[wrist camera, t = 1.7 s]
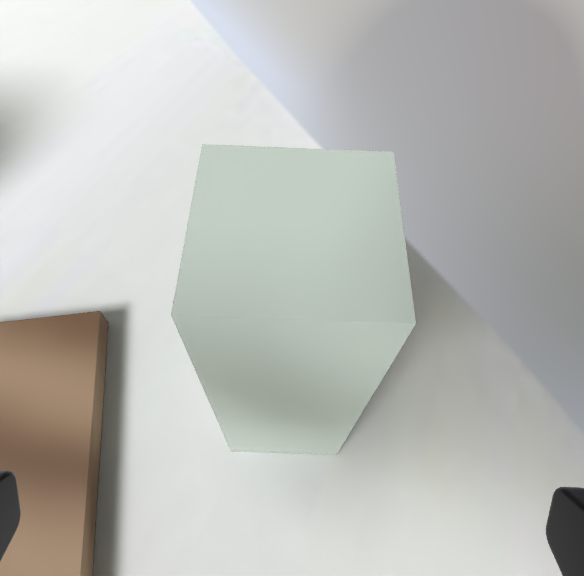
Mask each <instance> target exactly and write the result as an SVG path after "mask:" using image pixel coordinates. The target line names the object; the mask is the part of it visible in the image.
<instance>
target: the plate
mask: <svg viewBox="0 0 584 576" xmlns="http://www.w3.org/2000/svg"><path fill="white" fill-rule="evenodd" d="M107 336H108V321H107V320H106V319H105V317H104V316H103V314H102V313H101V312H100V311H96V312H87V313H78V314H70V315H61V316H52V317H44V318H35V319H26V320H18V321H9V322H0V470H9V471H11V472H13V473H14V474H15V476H16V480H17V487H18V494H19V502H20V509H21V517H20V522H19V525H18V528H17V530H16V532H15V534H14V536H13V538H12V540H11V542H10V544H9V546H8V548H7V550H6V552H5V554H4V556H3V558H2V560H1V562H0V576H92V572H93V557H94V541H95V525H96V509H97V494H98V478H99V462H100V446H101V431H102V415H103V399H104V383H105V368H106V352H107Z"/></svg>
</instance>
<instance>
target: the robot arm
mask: <svg viewBox="0 0 584 576" xmlns="http://www.w3.org/2000/svg"><path fill="white" fill-rule="evenodd" d="M20 517H21V509H20V502H19V494H18V487H17V480H16V476H15V474H14V473H13V472H11V471H9V470H0V562H1V560H2V558H3V556H4V554H5V552H6V550H7V548H8V546H9V544H10V542H11V540H12V538H13V536H14V534H15V532H16V530H17V528H18V525H19V522H20ZM546 535H547V540H548V543H549V546H550V548H551V550H552V553H553V555H554V557H555V559H556V562H557V564H558V566H559V568H560V571H561V573H562V575H563V576H584V488H576V487H560V488H557V489H556V490H555V492H554V494H553V497H552V502H551V507H550V511H549V516H548V520H547V525H546Z"/></svg>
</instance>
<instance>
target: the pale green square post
mask: <svg viewBox="0 0 584 576" xmlns="http://www.w3.org/2000/svg"><path fill="white" fill-rule="evenodd" d="M171 316H172V318H173V320H174V323H175V325H176V327H177V329H178V332H179V334H180V336H181V339H182V341H183V343H184V345H185V348H186V350H187V352H188V355H189V357H190V359H191V361H192V364H193V366H194V368H195V370H196V373H197V375H198V377H199V380H200V382H201V384H202V386H203V389H204V391H205V393H206V396H207V398H208V400H209V402H210V405H211V407H212V409H213V412H214V414H215V416H216V418H217V421H218V423H219V425H220V427H221V430H222V432H223V434H224V437H225V439H226V441H227V443H228V446H229V448H230V450H231V451H246V452H278V453H310V454H338V452H339V450H340V449H341V447H342V445H343V444H344V442H345V440H346V439H347V437H348V435H349V434H350V432H351V430H352V429H353V427H354V425H355V424H356V422H357V420H358V419H359V417H360V416H361V414H362V412H363V411H364V409H365V407H366V406H367V404H368V402H369V401H370V399H371V397H372V396H373V394H374V392H375V391H376V389H377V387H378V386H379V384H380V382H381V381H382V379H383V378H384V376H385V374H386V373H387V371H388V369H389V368H390V366H391V364H392V363H393V361H394V359H395V358H396V356H397V354H398V353H399V351H400V349H401V348H402V346H403V344H404V343H405V341H406V340H407V338H408V336H409V335H410V333H411V331H412V330H413V328H414V326H415V325H416V319H415V311H414V303H413V296H412V288H411V281H410V273H409V265H408V258H407V250H406V243H405V235H404V227H403V220H402V212H401V205H400V197H399V189H398V182H397V174H396V167H395V159H394V152H381V151H355V150H330V149H306V148H282V147H257V146H232V145H207V144H202V149H201V154H200V160H199V165H198V171H197V176H196V182H195V187H194V193H193V198H192V204H191V209H190V215H189V220H188V226H187V231H186V236H185V242H184V247H183V253H182V258H181V264H180V269H179V275H178V280H177V286H176V291H175V297H174V302H173V307H172V313H171Z"/></svg>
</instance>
